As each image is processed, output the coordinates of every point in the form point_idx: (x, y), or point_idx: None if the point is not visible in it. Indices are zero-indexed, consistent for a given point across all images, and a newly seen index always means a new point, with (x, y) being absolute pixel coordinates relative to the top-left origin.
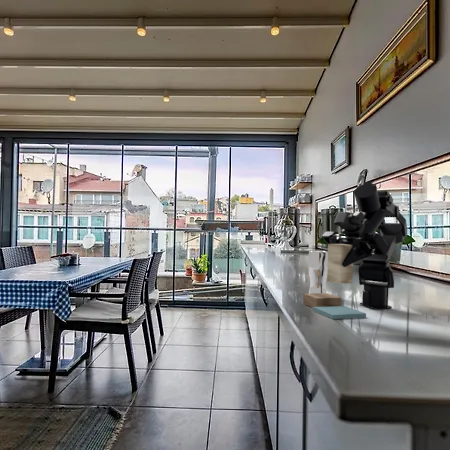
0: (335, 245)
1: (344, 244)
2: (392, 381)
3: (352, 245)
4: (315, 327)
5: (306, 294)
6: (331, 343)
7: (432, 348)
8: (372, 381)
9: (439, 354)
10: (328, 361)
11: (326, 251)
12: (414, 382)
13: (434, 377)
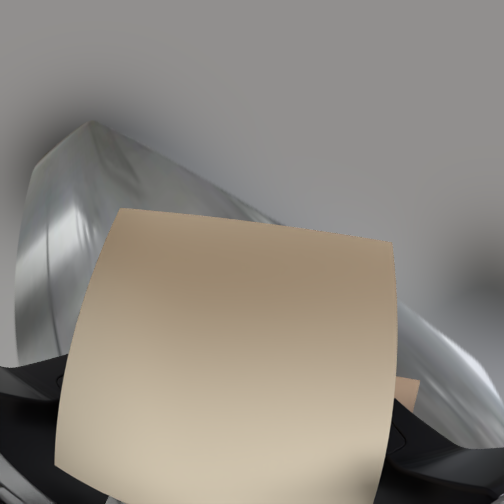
0: (222, 226)
1: (173, 442)
2: (61, 155)
3: (60, 447)
4: (194, 212)
5: (407, 380)
6: (131, 173)
7: (24, 282)
8: (74, 143)
9: (19, 263)
10: (114, 137)
11: None
12: (47, 168)
13: (32, 191)
